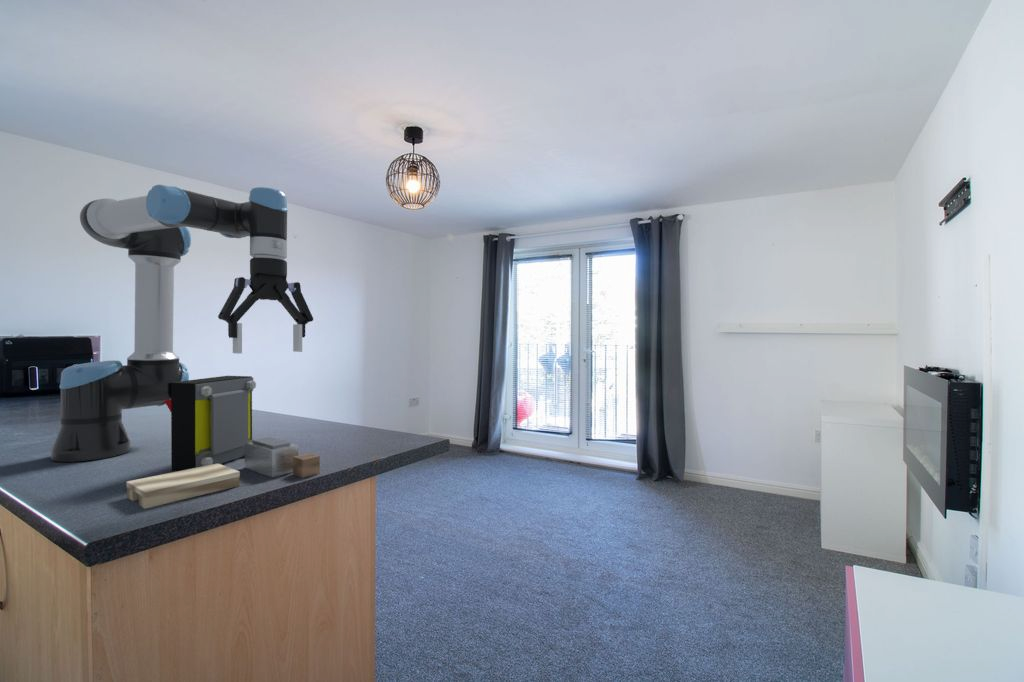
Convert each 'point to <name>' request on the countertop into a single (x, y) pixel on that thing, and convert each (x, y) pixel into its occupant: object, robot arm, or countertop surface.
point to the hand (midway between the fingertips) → (269, 352)
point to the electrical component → (209, 420)
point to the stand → (181, 485)
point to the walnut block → (306, 465)
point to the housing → (270, 456)
